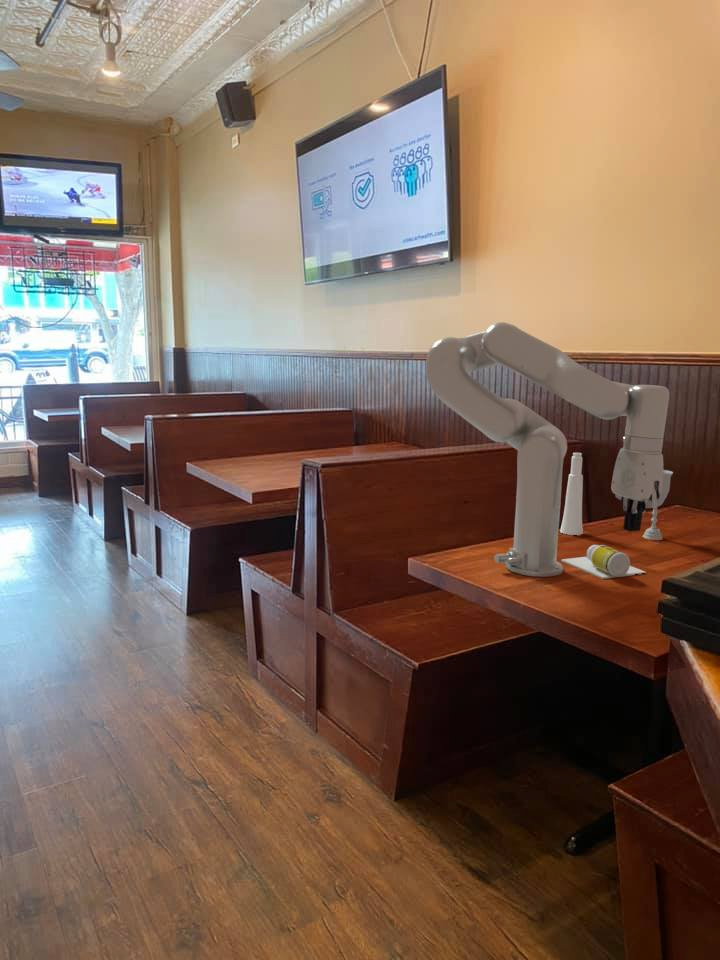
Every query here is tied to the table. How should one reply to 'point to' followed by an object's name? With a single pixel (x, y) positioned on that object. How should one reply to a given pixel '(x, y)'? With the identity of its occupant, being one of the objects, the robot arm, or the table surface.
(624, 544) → the table surface
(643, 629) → the table surface
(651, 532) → the chalice
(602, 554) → the supplement bottle
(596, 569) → the mat
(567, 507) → the cosmetic bottle
